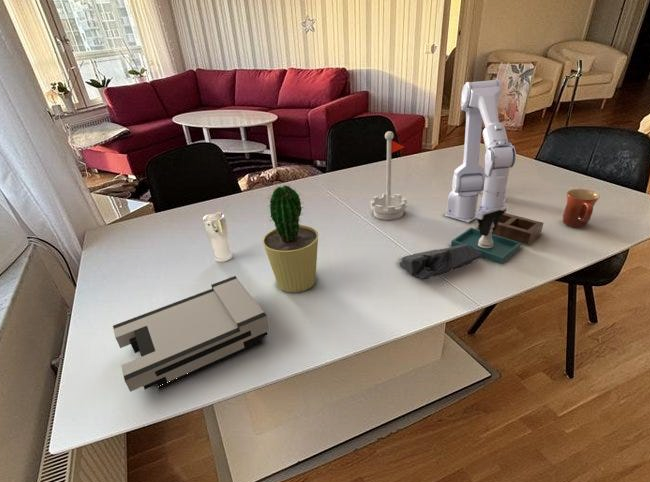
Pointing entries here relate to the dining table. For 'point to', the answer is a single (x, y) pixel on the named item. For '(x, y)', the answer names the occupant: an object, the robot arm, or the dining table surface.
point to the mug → (579, 207)
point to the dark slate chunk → (439, 260)
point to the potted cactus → (290, 243)
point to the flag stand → (389, 189)
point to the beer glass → (218, 235)
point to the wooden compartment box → (518, 228)
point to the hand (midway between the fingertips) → (487, 232)
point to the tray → (497, 253)
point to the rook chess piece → (486, 240)
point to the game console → (191, 335)
